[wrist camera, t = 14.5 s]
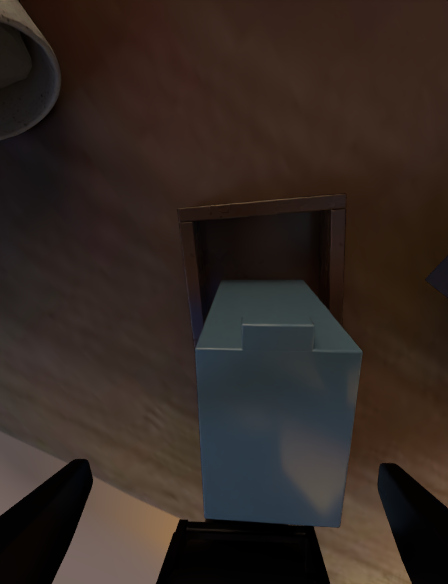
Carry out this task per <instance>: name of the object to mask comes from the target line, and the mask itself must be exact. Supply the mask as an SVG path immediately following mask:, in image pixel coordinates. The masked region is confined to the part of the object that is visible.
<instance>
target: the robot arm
mask: <svg viewBox="0 0 448 584" xmlns="http://www.w3.org/2000/svg"><path fill="white" fill-rule="evenodd" d="M92 484H93V477H92V473H91V469H90V465H89V462H88V460H87V459H75V460H73V461H71V462H70V463H69V464H67V465H66V466H65V467H63V468H62V469H61V470H60V471H58V472H57V473H56V474H54V475H53V476H52V477H50V478H49V479H48V480H46V481H45V482H44V483H43V484H41V485H40V486H39V487H37V488H36V489H35V490H33V491H32V492H31V493H30V494H29V495H27V496H26V497H24V498H23V499H22V500H20V501H19V502H18V503H16V504H15V505H14V506H13V507H11V508H10V509H9V510H7V511H6V512H5V513H4V514H2V515H1V516H0V584H52V582H53V580H54V578H55V575H56V573H57V571H58V569H59V567H60V565H61V563H62V561H63V559H64V557H65V554H66V552H67V550H68V548H69V545H70V543H71V541H72V538H73V536H74V533H75V530H76V528H77V525H78V522H79V520H80V517H81V515H82V512H83V509H84V506H85V503H86V501H87V499H88V496H89V493H90V491H91V488H92ZM378 492H379V495H380V498H381V501H382V504H383V507H384V510H385V513H386V516H387V519H388V521H389V524H390V527H391V530H392V533H393V536H394V539H395V542H396V545H397V548H398V551H399V553H400V556H401V559H402V561H403V564H404V566H405V568H406V571H407V573H408V575H409V578H410V580H411V582H412V584H448V508H447V507H446V506H445V505H444V504H442V503H441V502H440V501H439V500H438V499H437V498H435V497H434V496H433V495H432V494H431V493H430V492H428V491H427V490H426V489H425V488H424V487H423V486H421V485H420V484H419V483H418V482H417V481H416V480H414V479H413V478H412V477H411V476H410V475H409V474H407V473H406V472H405V471H404V470H403V469H402V468H400V467H399V466H398V465H396V464H394V463H381V464H380V467H379V475H378ZM156 584H330V581H329V578H328V574H327V571H326V568H325V564H324V561H323V557H322V554H321V550H320V547H319V544H318V540H317V537H316V533H315V530H314V526H305V525H304V526H298V525H288V524H276V523H261V522H247V521H232V520H217V519H206V520H205V522H190V521H188V520H181V519H180V520H179V523H178V526H177V529H176V532H174V533H173V536H172V539H171V542H170V545H169V548H168V551H167V553H166V556H165V559H164V563H163V565H162V568H161V571H160V574H159V577H158V580H157V582H156Z"/></svg>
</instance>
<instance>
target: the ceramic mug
mask: <svg viewBox="0 0 448 584" xmlns="http://www.w3.org/2000/svg"><path fill="white" fill-rule="evenodd" d="M60 88H61V71H60V67H59V63H58V61H57V58H56V55H55V53H54V52H53V50H52V48H51V47H50V45H49V44H48V42H47V41H46V39H45V38H44V36H43V35H42V33H41V32H40V31H39V29H38V28H37V27H36V25H35V24H34V23H33V21H32V20H31V18H30V17H29V16H28V14H27V13H26V11H25V10H24V8H23V7H22V5H21V4H20V3H19V1H18V0H0V140H4V139H7V138H10V137H13V136H17V135H19V134H21V133H23V132H25V131H26V130H28V129H30V128H32V127H33V126H34V125H36V124H37V123H38V122H40V121H41V120H42V119H43V118H44V117H45V116H46V115H47V114H48V113H49V112H50V110H51V109H52V108H53V106H54V105H55V103H56V101H57V99H58V97H59V92H60Z"/></svg>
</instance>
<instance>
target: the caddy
mask: <svg viewBox="0 0 448 584" xmlns="http://www.w3.org/2000/svg"><path fill="white" fill-rule="evenodd" d="M345 208H346V193H341V194H329V195H318V196H307V197H296V198H285V199H274V200H262V201H251V202H240V203H229V204H218V205H207V206H195V207H184V208H178V209H177V211H178V219H179V222H180V223H179V228H180V236H181V244H182V252H183V260H184V269H185V277H186V285H187V293H188V301H189V309H190V317H191V325H192V333H193V341H194V349H195V348H196V345H197V342H198V340H199V337H200V334H201V332H202V329H203V326H204V324H205V321H206V318H207V316H208V313H209V310H210V308H211V305H212V302H213V300H214V297H215V294H216V292H217V289H218V286H219V284H220V281H221V280H304V281H305V282H306V283H307V285H308V286H309V287H310V288H311V289H312V291H313V292H314V293H315V294H316V296H317V297H318V298H319V299H320V300H321V302H322V303H323V304H324V305H325V306H326V308H327V309H328V310H329V311H330V312H331V314H332V315H333V316H334V317H335V318H336V320H337V321H338V322H339V323H340V324H341V326H342V311H343V283H344V255H345V227H346V209H345Z"/></svg>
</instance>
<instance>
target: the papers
mask: <svg viewBox="0 0 448 584" xmlns="http://www.w3.org/2000/svg"><path fill="white" fill-rule="evenodd" d="M425 280H426V281H427V282H428V283H429V284H431V285H432V286H433V287H434V288H436V289H437V290H438V291H439V292H441V293H442V294H443V295H445V296H446V297H447V298H448V256H447V257H446V258H445V259H444V260H443V261H442V262H441V263H440V264H439V265H438V266H437V267H436V268H435V269H434V270H433V271H432V272H431V274H430V275H429V276H428V277H427V278H426V279H425Z"/></svg>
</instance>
